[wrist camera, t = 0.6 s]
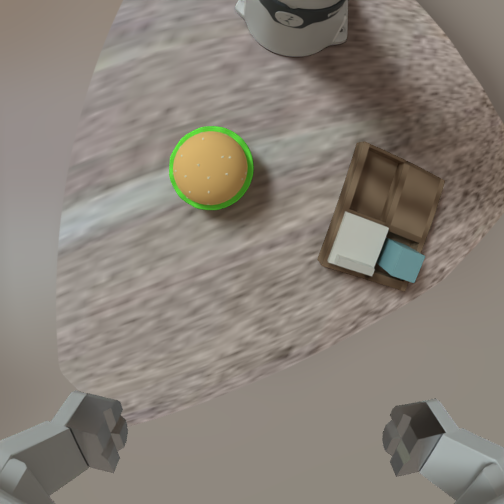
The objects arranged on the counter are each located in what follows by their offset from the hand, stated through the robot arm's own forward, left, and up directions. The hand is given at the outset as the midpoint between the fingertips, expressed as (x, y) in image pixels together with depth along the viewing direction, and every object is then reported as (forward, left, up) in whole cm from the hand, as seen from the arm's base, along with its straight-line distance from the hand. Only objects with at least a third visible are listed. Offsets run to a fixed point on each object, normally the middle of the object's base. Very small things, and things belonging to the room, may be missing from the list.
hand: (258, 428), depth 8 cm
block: (-1, +24, -41) cm, 48 cm away
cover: (-1, +16, -39) cm, 42 cm away
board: (-6, +20, -42) cm, 47 cm away
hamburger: (-5, -8, -43) cm, 43 cm away
